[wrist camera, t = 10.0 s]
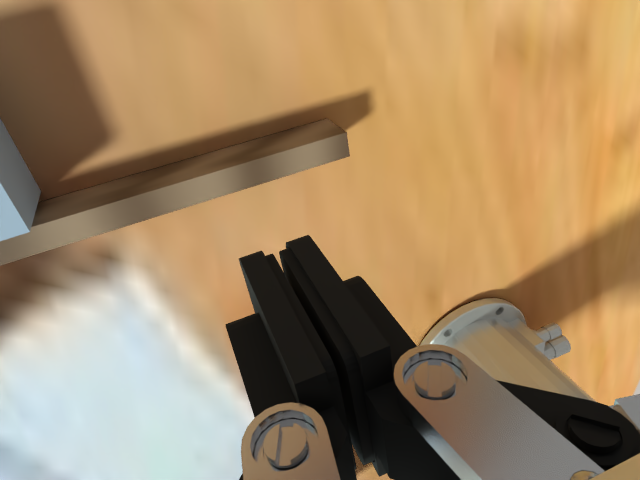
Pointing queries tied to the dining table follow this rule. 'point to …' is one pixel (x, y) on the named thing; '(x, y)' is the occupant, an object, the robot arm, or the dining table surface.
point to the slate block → (15, 190)
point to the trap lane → (176, 187)
